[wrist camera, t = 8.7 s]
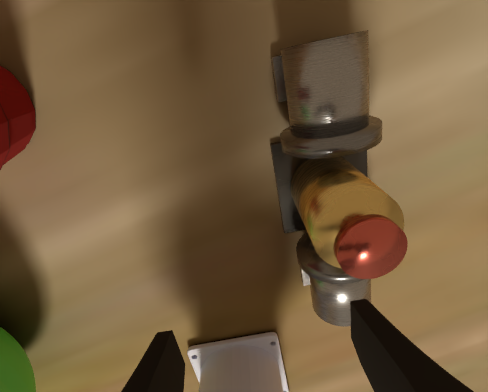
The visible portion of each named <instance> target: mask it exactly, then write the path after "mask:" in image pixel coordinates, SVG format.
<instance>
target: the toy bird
mask: <svg viewBox="0 0 488 392" xmlns="http://www.w3.org/2000/svg"><path fill="white" fill-rule="evenodd" d="M0 392H36V386H35V378H34V373H33V369H32V366H31V363H30V361H29V359H28V357H27V355H26V353H25V351H24V350H23V348H22V347H21V346H20V344H19V343H18V342H17V341H16V340H15V339H14V338H13V337H12V336H11V335H10V334H9V333H8V332H6V331H5V330H4V329H3V328H1V327H0Z"/></svg>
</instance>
